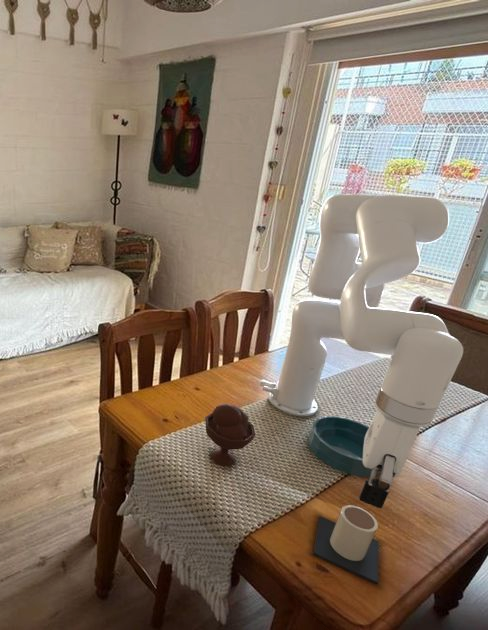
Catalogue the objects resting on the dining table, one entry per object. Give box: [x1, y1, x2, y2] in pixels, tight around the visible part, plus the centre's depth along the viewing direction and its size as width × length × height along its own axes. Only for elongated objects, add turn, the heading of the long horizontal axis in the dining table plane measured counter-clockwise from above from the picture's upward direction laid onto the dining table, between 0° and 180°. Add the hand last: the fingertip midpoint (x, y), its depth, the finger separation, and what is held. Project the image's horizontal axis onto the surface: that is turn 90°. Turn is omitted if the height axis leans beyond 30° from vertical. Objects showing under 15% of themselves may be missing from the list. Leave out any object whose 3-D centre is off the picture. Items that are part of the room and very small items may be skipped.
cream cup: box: [330, 504, 379, 561], centre depth 80 cm, size 6×6×8 cm
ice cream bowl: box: [204, 403, 256, 467], centre depth 100 cm, size 11×11×15 cm
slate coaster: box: [312, 515, 380, 585], centre depth 82 cm, size 10×10×1 cm
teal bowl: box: [307, 415, 381, 478], centre depth 105 cm, size 16×16×5 cm
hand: (370, 484), depth 76 cm, fingers open, 9 cm apart
